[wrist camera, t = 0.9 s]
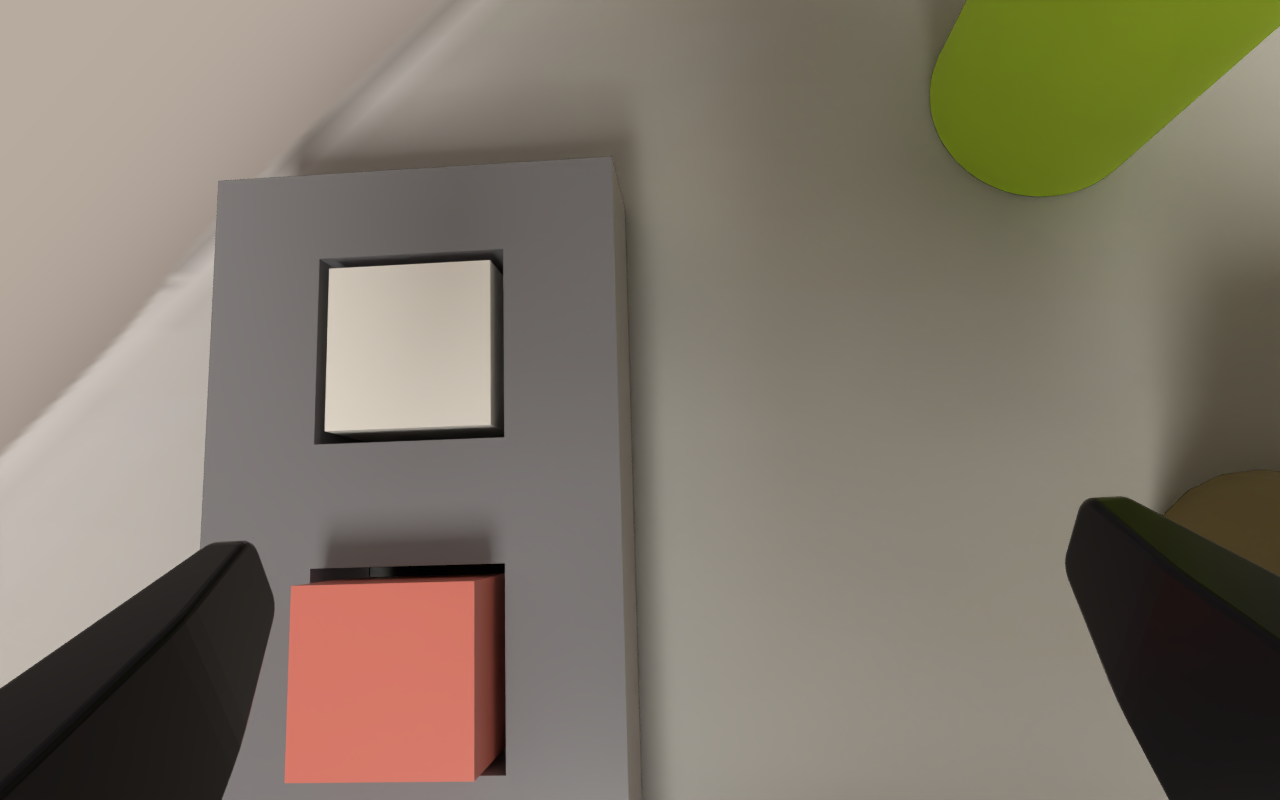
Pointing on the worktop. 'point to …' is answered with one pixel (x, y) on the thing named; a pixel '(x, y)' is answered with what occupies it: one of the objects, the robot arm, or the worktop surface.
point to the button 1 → (415, 352)
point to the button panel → (442, 452)
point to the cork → (1236, 514)
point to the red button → (396, 679)
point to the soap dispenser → (1079, 81)
